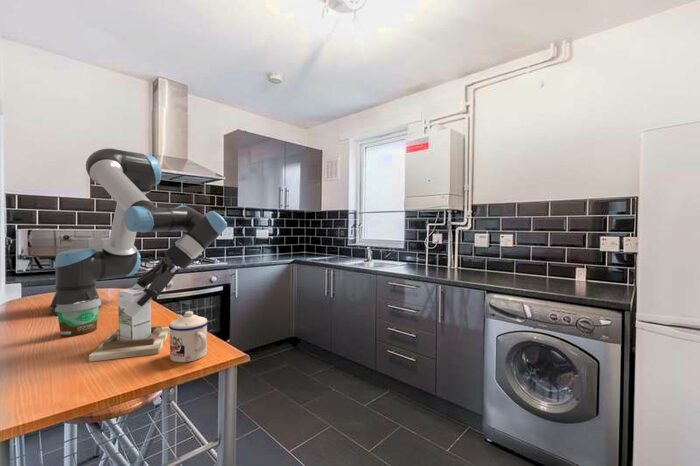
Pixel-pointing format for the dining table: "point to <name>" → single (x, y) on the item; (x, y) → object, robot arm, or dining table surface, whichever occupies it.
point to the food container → (78, 317)
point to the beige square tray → (130, 345)
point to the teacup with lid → (188, 338)
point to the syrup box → (139, 322)
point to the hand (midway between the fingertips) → (124, 308)
